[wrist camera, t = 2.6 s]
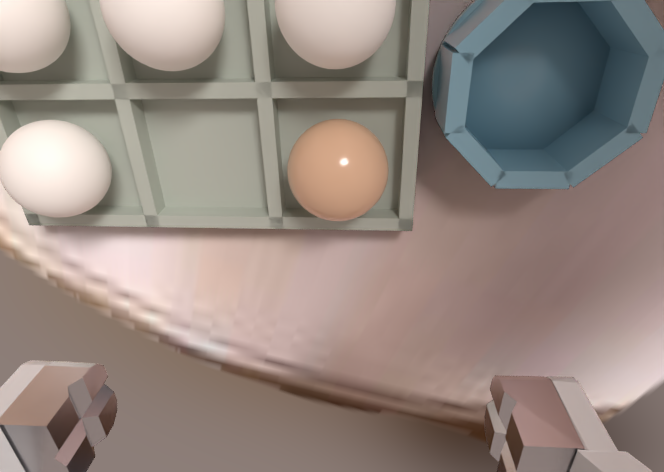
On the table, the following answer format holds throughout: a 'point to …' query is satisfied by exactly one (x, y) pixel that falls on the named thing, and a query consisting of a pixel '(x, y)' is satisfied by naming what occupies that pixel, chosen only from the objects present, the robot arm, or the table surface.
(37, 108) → the egg carton
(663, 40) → the egg cup
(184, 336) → the table surface
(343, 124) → the brown egg
